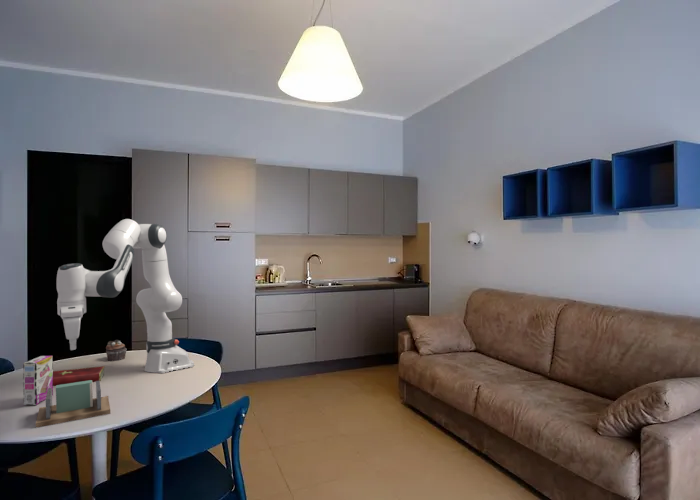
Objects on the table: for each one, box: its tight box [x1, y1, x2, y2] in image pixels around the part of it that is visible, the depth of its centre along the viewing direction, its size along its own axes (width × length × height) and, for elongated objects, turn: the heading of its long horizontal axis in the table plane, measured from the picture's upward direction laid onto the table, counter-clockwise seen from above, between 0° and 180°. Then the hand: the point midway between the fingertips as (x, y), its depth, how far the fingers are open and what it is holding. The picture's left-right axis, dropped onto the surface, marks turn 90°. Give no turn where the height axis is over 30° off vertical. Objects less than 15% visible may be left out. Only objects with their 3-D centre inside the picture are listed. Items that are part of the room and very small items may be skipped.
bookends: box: [45, 381, 102, 420], centre depth 160 cm, size 16×13×7 cm
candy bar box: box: [22, 355, 54, 406], centre depth 172 cm, size 11×5×16 cm, turn 5°
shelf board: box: [35, 395, 111, 428], centre depth 160 cm, size 22×16×2 cm
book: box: [55, 380, 94, 413], centre depth 160 cm, size 4×11×9 cm, turn 121°
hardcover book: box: [53, 365, 106, 387], centre depth 197 cm, size 12×21×4 cm, turn 111°
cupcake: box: [105, 339, 127, 362], centre depth 231 cm, size 10×10×10 cm
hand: (73, 346), depth 159 cm, fingers open, 8 cm apart
